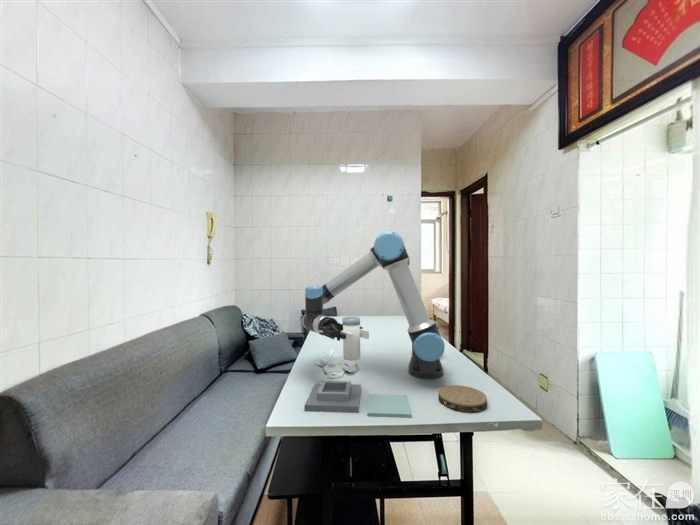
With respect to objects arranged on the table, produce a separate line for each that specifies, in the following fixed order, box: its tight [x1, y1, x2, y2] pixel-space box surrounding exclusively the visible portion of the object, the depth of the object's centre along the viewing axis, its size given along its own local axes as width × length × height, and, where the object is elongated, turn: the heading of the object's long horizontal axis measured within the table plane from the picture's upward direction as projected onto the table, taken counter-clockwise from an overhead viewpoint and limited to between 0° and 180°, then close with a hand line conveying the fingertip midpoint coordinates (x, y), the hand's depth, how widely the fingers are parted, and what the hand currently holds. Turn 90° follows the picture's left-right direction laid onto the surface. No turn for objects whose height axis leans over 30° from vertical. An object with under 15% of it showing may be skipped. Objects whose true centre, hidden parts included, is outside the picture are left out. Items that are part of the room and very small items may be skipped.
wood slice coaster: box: [438, 384, 488, 414], centre depth 105 cm, size 16×16×3 cm
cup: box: [342, 316, 361, 362], centre depth 105 cm, size 6×6×14 cm
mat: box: [367, 393, 413, 418], centre depth 102 cm, size 14×14×1 cm
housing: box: [304, 380, 362, 414], centre depth 107 cm, size 18×18×4 cm
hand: (360, 336), depth 101 cm, fingers closed on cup, 6 cm apart
